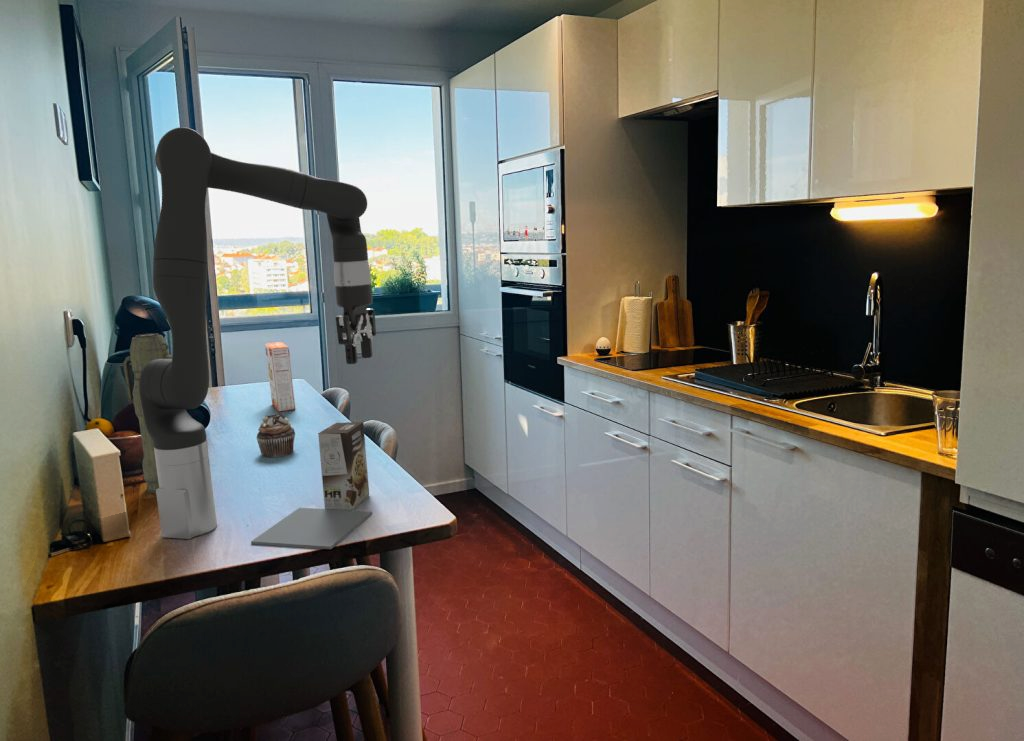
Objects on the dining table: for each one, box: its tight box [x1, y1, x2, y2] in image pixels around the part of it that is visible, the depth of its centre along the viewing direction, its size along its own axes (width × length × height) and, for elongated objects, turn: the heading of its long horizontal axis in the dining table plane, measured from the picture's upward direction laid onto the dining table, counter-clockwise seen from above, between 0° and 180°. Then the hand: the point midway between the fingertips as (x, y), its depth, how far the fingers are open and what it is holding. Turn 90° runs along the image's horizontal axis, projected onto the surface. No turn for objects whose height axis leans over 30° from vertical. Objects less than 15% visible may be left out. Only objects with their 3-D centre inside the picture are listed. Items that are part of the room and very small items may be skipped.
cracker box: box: [264, 341, 296, 413], centre depth 248 cm, size 14×6×21 cm, turn 25°
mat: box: [250, 507, 373, 550], centre depth 144 cm, size 17×16×1 cm
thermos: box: [122, 332, 172, 494], centre depth 170 cm, size 9×12×35 cm
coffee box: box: [317, 421, 370, 511], centre depth 155 cm, size 9×6×16 cm
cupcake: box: [256, 412, 296, 458], centre depth 196 cm, size 10×10×10 cm
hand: (359, 360), depth 162 cm, fingers open, 7 cm apart
